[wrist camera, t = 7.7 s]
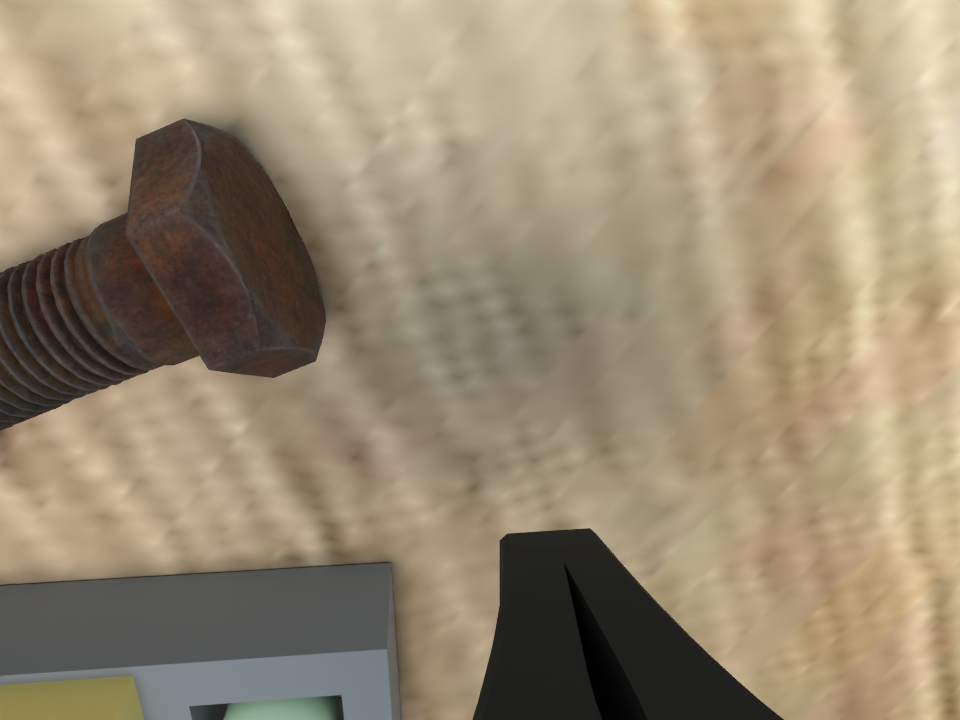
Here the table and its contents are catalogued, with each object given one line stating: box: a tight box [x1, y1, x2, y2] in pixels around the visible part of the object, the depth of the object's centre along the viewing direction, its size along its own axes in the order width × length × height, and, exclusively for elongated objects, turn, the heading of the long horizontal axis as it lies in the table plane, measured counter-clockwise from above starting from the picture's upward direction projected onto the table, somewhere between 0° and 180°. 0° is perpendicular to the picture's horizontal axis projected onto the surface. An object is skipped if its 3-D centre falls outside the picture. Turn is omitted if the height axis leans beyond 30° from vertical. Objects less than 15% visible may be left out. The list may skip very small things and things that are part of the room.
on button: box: [224, 695, 340, 720], centre depth 20 cm, size 3×3×3 cm
